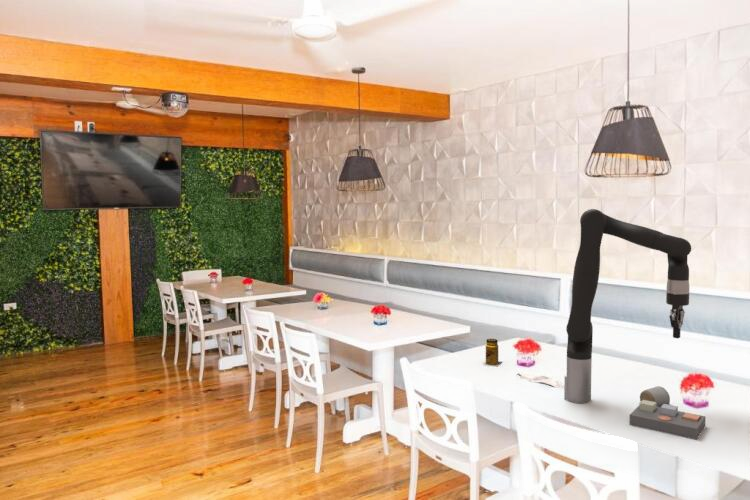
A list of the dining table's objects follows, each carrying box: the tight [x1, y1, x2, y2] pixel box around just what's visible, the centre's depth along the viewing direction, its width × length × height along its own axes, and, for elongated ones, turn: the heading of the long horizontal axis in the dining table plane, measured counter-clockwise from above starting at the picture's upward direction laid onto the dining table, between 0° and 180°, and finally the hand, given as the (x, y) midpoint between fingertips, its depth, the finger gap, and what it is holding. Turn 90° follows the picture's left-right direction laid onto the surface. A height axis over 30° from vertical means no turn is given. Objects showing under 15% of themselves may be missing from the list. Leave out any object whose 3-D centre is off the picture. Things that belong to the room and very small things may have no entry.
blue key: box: [661, 404, 679, 417], centre depth 205 cm, size 4×4×3 cm
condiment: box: [483, 338, 503, 367], centre depth 284 cm, size 7×8×12 cm
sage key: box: [638, 400, 656, 413], centre depth 209 cm, size 4×4×3 cm
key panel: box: [629, 405, 706, 440], centre depth 203 cm, size 21×14×4 cm, turn 51°
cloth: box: [515, 373, 565, 388], centre depth 256 cm, size 26×14×2 cm, turn 27°
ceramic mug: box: [639, 385, 671, 408], centre depth 219 cm, size 11×8×8 cm
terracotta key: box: [683, 412, 701, 422], centre depth 201 cm, size 4×4×3 cm
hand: (676, 337), depth 218 cm, fingers closed
